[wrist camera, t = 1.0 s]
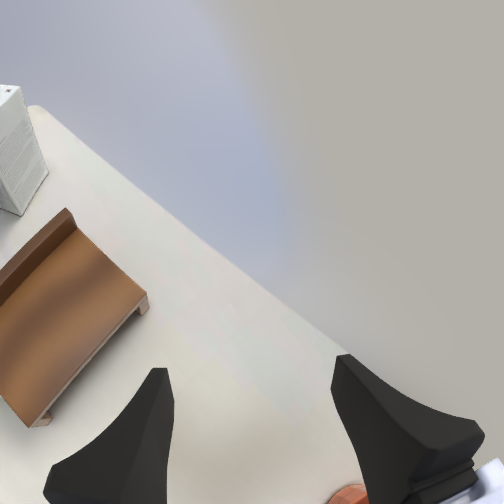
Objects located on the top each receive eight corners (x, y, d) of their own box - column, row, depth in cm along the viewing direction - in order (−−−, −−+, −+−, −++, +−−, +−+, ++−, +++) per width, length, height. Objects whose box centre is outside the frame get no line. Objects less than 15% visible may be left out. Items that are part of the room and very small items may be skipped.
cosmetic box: (22, 165, 28) (-7, 81, 18) (49, 172, 29) (22, 84, 18) (-6, 208, 25) (-51, 128, 15) (21, 218, 26) (-24, 135, 15)
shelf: (149, 308, 26) (145, 282, 21) (47, 425, 19) (16, 429, 14) (80, 242, 27) (65, 206, 21) (-16, 348, 20) (-52, 332, 15)
